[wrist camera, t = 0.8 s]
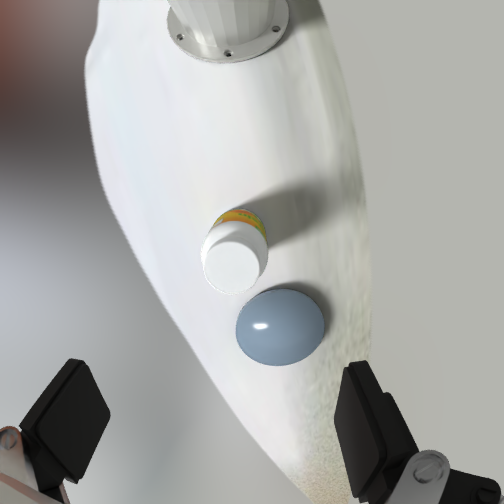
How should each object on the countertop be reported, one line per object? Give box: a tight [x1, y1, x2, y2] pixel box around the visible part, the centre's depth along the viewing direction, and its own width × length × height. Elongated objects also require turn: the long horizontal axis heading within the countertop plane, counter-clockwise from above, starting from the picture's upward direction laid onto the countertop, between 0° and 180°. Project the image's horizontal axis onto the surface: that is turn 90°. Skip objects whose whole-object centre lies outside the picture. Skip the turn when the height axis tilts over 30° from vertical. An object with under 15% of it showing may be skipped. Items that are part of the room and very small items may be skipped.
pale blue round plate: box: [236, 289, 325, 366], centre depth 31 cm, size 10×10×2 cm
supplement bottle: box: [201, 209, 268, 294], centre depth 24 cm, size 5×5×10 cm
